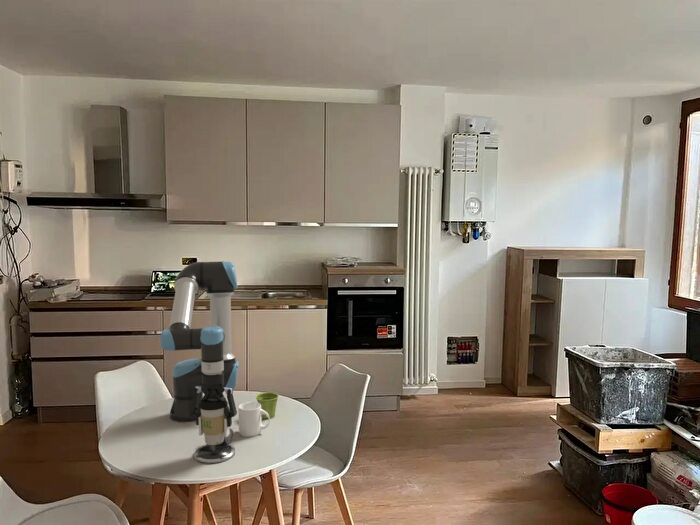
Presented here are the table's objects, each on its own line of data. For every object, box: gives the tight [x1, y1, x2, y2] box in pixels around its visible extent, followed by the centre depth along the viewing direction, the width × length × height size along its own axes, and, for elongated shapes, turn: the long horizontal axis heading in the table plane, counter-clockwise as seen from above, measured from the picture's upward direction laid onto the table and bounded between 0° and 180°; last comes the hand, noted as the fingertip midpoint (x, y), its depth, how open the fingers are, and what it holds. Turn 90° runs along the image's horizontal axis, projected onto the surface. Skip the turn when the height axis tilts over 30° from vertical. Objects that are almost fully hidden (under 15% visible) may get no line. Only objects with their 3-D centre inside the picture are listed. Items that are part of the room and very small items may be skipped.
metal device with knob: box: [193, 427, 236, 465], centre depth 191 cm, size 20×14×9 cm
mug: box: [238, 401, 271, 438], centre depth 206 cm, size 9×12×11 cm
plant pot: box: [255, 392, 279, 419], centre depth 223 cm, size 9×9×9 cm
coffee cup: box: [199, 396, 229, 445], centre depth 187 cm, size 10×10×15 cm
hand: (214, 434), depth 187 cm, fingers closed on coffee cup, 9 cm apart
